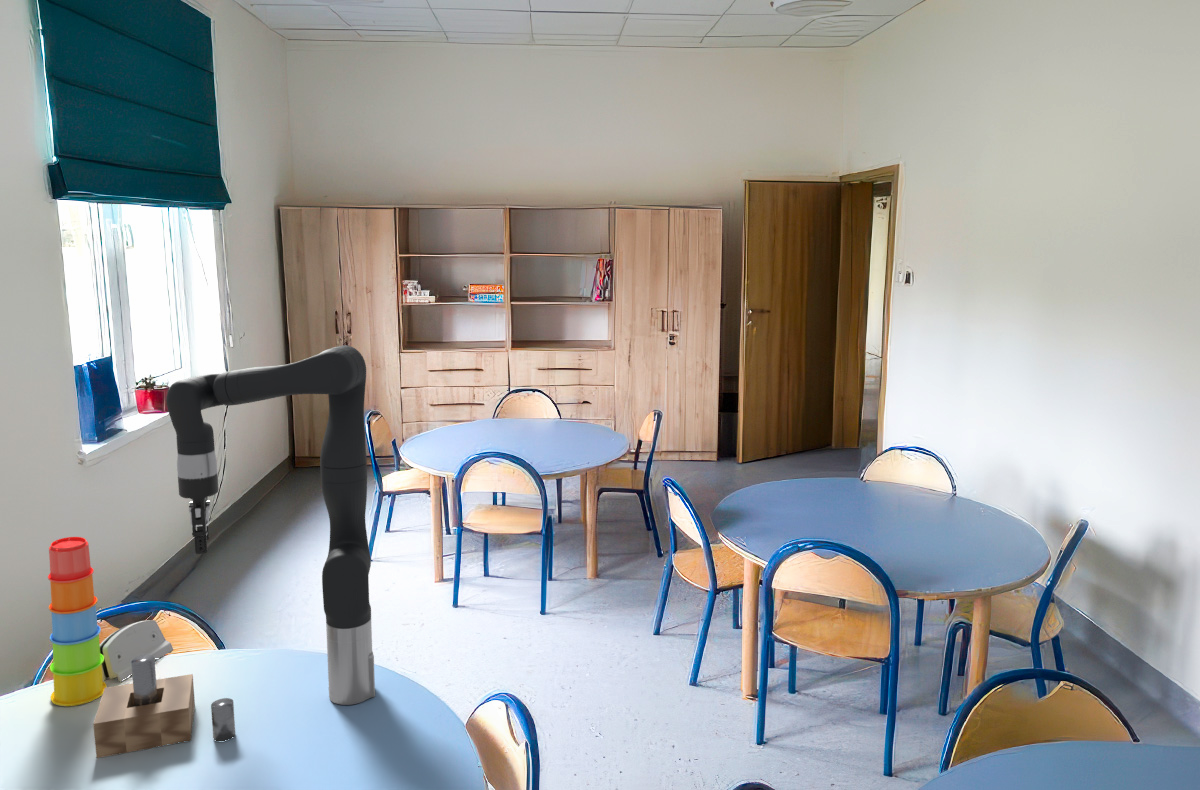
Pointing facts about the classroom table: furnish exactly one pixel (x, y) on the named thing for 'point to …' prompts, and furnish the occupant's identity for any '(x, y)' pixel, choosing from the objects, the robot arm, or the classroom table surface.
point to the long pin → (144, 680)
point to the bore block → (144, 717)
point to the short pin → (223, 719)
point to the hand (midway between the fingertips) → (202, 546)
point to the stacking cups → (74, 625)
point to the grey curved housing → (131, 647)
